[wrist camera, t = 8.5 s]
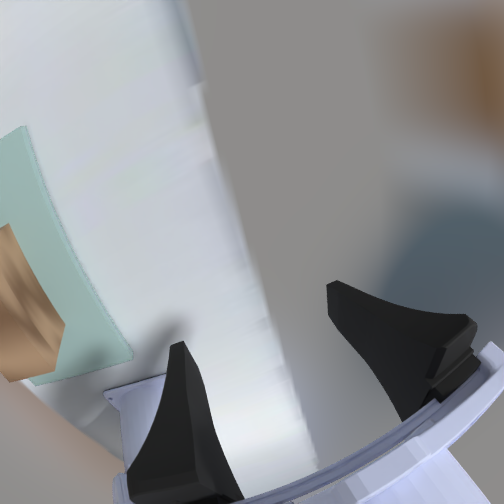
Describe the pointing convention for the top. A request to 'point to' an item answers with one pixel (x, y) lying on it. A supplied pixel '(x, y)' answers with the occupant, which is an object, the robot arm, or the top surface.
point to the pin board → (55, 266)
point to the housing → (25, 316)
